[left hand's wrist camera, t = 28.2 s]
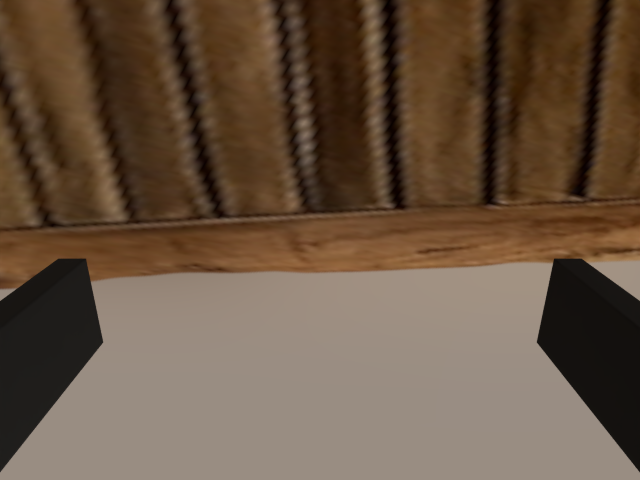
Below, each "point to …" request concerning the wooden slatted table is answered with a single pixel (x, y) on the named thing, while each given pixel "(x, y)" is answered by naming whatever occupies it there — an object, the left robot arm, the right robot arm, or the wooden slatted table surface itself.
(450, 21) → the wooden slatted table surface
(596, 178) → the wooden slatted table surface
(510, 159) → the wooden slatted table surface
